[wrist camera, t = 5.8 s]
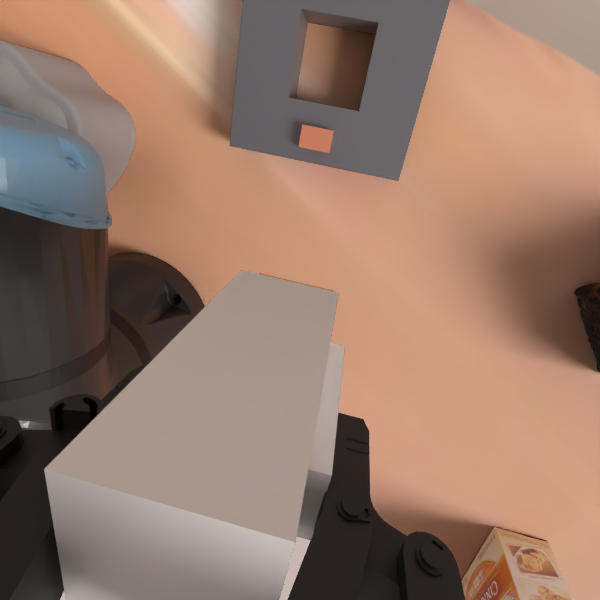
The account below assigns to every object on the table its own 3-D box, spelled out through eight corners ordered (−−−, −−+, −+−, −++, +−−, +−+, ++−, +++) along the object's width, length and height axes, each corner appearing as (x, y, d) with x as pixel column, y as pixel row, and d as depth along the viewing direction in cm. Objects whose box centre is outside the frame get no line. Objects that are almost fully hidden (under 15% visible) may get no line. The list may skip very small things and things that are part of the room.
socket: (240, 145, 32) (226, 145, 29) (262, -58, 26) (247, -89, 23) (395, 177, 31) (399, 181, 28) (453, -27, 25) (466, -55, 22)
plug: (308, 409, 22) (236, 747, 10) (238, 391, 22) (81, 694, 10) (342, 273, 18) (295, 542, 6) (257, 254, 19) (43, 469, 6)
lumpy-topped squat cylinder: (149, 131, 33) (83, 127, 25) (86, 229, 38) (14, 250, 30) (57, 41, 31) (-45, 7, 24) (3, 156, 37) (-96, 159, 29)
